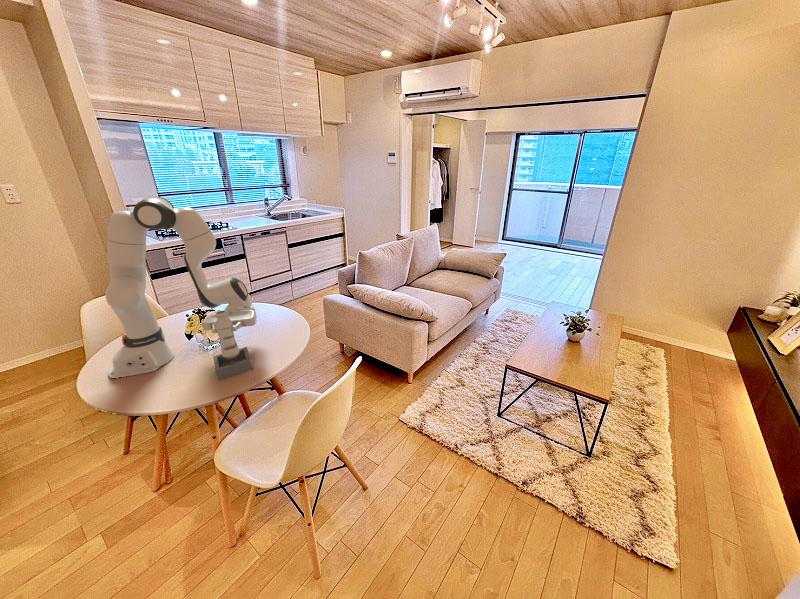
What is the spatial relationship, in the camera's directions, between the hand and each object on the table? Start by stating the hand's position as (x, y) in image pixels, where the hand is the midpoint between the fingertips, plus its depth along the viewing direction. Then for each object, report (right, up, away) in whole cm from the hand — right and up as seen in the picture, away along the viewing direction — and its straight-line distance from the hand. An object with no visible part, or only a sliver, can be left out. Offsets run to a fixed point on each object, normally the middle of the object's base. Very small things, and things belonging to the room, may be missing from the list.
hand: (224, 330), depth 126 cm
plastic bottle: (0, -12, +5) cm, 13 cm away
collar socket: (0, -16, +8) cm, 18 cm away
